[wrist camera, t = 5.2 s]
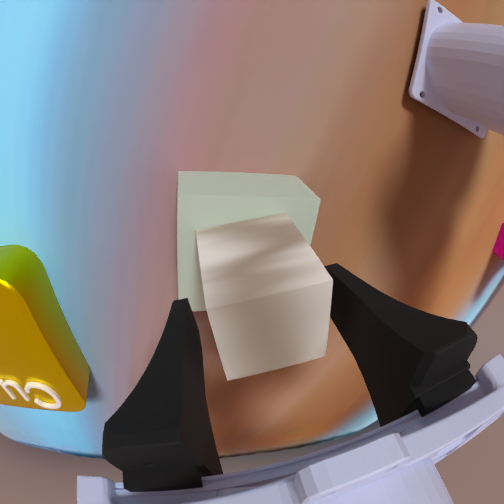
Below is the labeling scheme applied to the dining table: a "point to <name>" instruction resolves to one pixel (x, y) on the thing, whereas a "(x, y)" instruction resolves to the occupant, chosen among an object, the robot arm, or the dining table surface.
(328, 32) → the dining table surface
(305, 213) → the sage base block
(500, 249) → the toy block
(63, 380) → the element tile
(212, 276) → the ash block
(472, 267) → the dining table surface
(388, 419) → the robot arm
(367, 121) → the dining table surface
